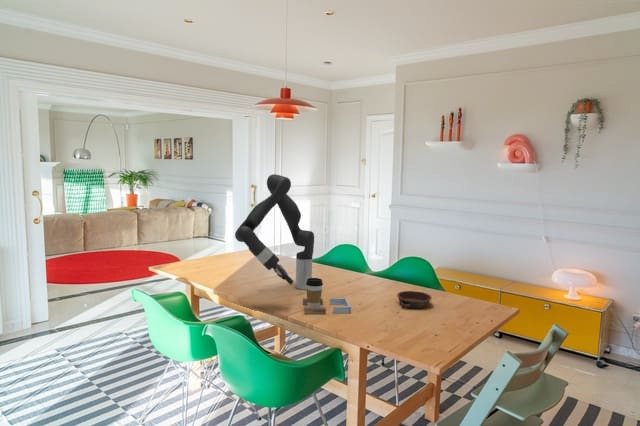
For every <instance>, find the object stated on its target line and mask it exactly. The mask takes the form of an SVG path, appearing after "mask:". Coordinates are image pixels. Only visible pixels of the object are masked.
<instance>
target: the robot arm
mask: <svg viewBox="0 0 640 426" xmlns="http://www.w3.org/2000/svg"><path fill="white" fill-rule="evenodd" d="M266 186H267V190H268V191H269V193H270V195H269V196H268V197H267V198H266V199H264V200H262V201H261V202H259V203H257V204H256V205H255V206H254V207H253V208H252V209H251V211H250V212H249V214H247V216H246V218H245V220H244V221H243V222H241V224H240V225H239V226H238V228H236V230H235V232H234V237H235V240H236V241H238V242H241V243H244V244H245V245H246V247H247V248H248V251H250V253H252V255H253V256H255V258H256V260H258V261H259V263H261V264H262V266H264V267H265V269H267V270H268V271H271V270H272V269H273V272H274V273H275V274H276V275H277V276H278V277H279V278H281V279H282V280H283V281H286V282H287V283H288V284H289V285H292V284H293V283H294V280H293V279H292V278H291V277H290V276H289V274H288V272H287V271H286V269H285V268H284V267H283V266H282V265H281V264H278V263H279V262H280V259H279V256H278V255H276V254H275V253H274V252H273V251H272V250H271V249H270V248H269V247H268V246H266V245H265V243H264V242H262V241H261V240H260V239H259V238H258V236H257V234H256V233H255V232H254V231H255V230H256V229H257V228H258V227H259V226H260V224H261V223H262V221H263V220H264V219H265V217H266V216H267V215H268V213H269V212H270V211H271V210H272V209H273V208H274V207H275V206H276V205H277V207H278V208H279V210H280V213H281V215H282V216H283V218H284V221H285V223H286V224H287V226H288V229H289V231H290V234H291V237H292V239H293V242H294V244H295V245H296V246H299V247H304V248H303V250H301V251H299V252H296V254H295V256H296V258H295V288H296V289H298V290H307V285H306V282H307V279H309V278H313V256H314V248H315V247H314V245H315V233H314V232H313V231H311V230H306V229H305V230H304V229H301V228H300V225H299V223H300V221H301V219H302V214H301V211H300V208H299V206H298V205H297V203H296V202H295V201H294V200H293V199H292V198H291V196H289V195H288V192H289V191H290V189H291V188H292V182H291V179H290V178H289V177H288V176H284V175H280V174H275V173H274V174H270V175H269V176H268V177H267V180H266ZM277 256H278V257H277Z"/></svg>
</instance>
